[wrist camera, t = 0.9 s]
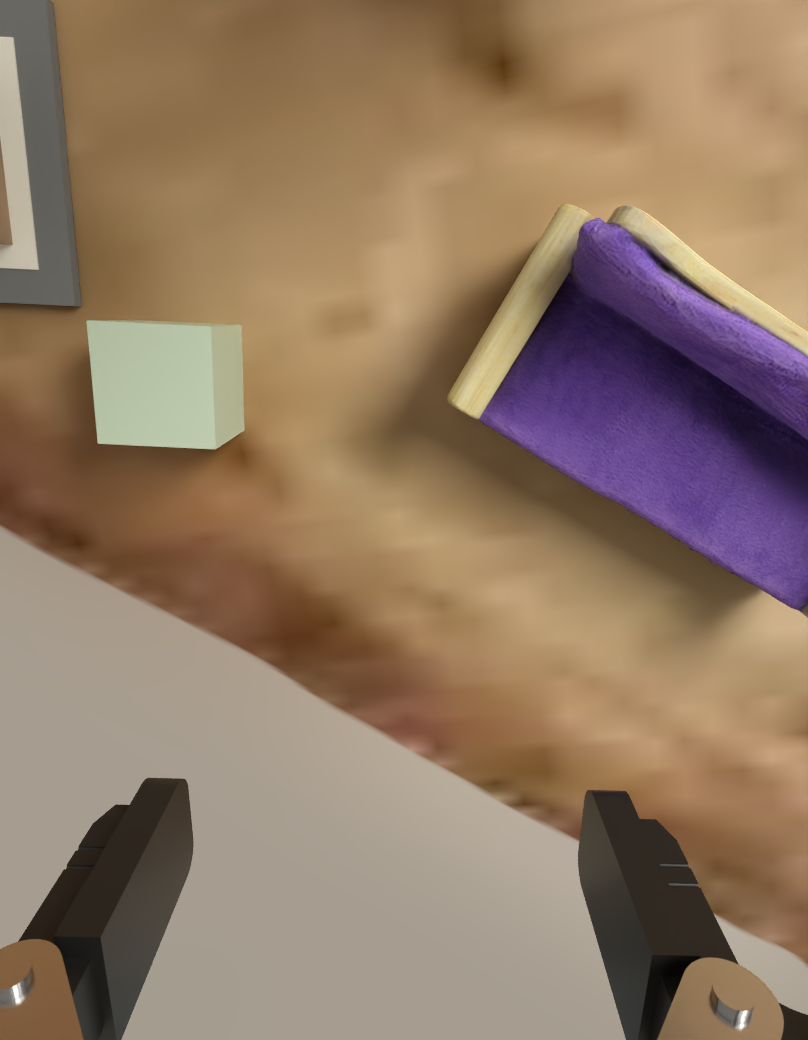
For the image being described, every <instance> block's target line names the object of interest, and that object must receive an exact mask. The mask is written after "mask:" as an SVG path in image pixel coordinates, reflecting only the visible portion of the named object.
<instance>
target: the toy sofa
mask: <svg viewBox="0 0 808 1040" xmlns="http://www.w3.org/2000/svg"><path fill="white" fill-rule="evenodd" d="M447 400H448V402H449V403H450V404H451V405H452V406H454V407H455V408H457V409H458V410H460V411H462V412H463V413H465V414H467V415H468V416H470V417H472V418H475V419H477V420H479V421H480V422H482V423H483V424H485V425H486V426H488V427H491V428H492V429H494V430H495V431H497V432H499V433H500V434H501V435H503V436H505V437H506V438H508V439H510V440H512V441H513V442H515V443H516V444H518V445H519V446H520V447H522V448H524V449H526V450H527V451H528V452H530V453H532V454H533V455H535V456H536V457H538V458H539V459H541V460H543V461H544V462H546V463H547V464H549V465H550V466H552V467H553V468H555V469H556V470H558V471H560V472H562V473H563V474H565V475H566V476H568V477H569V478H571V479H573V480H575V481H576V482H578V483H579V484H581V485H583V486H585V487H587V488H589V489H591V490H592V491H594V492H596V493H598V494H600V495H602V496H604V497H606V498H608V499H610V500H612V501H615V502H617V503H619V504H621V505H622V506H624V507H626V508H627V509H628V510H629V511H630V512H633V513H636V514H637V515H639V516H640V517H642V518H644V519H646V520H647V521H648V522H649V523H650V524H652V525H654V526H657V527H659V528H660V529H662V530H663V531H665V532H667V533H668V534H669V535H671V536H672V537H674V538H676V539H678V540H680V541H681V542H682V543H684V544H686V545H687V546H688V547H690V549H691V550H695V551H697V552H699V553H700V554H702V555H703V556H705V557H707V558H708V559H709V560H710V562H711V563H716V564H718V565H720V566H721V567H723V568H725V569H726V570H728V571H729V572H730V573H732V574H736V575H737V576H739V577H741V578H742V579H744V580H746V581H747V582H749V583H751V584H752V585H755V586H757V587H758V588H760V589H762V590H763V591H765V592H766V593H768V594H770V595H771V596H772V597H774V598H776V599H777V600H779V601H780V602H782V603H784V604H786V605H787V606H789V607H791V608H793V609H796V610H798V611H800V612H801V613H803V614H804V615H805V616H806V617H808V332H807V331H806V330H804V329H803V328H801V327H799V326H798V325H796V324H795V323H793V322H792V321H790V320H789V319H787V318H786V317H785V316H783V315H782V314H780V313H779V312H778V311H776V310H775V309H773V308H772V307H770V306H769V305H767V304H766V303H764V302H762V301H761V300H760V299H758V298H757V297H755V296H754V295H752V294H751V293H749V292H748V291H746V290H745V289H743V288H742V287H740V286H739V285H738V284H736V283H735V282H733V281H732V280H730V279H729V278H728V277H726V276H725V275H724V274H722V273H721V272H719V271H718V270H717V269H715V268H714V267H712V266H711V265H710V264H709V263H707V262H706V261H705V260H703V259H702V258H701V257H700V256H698V255H697V254H696V253H695V252H694V251H693V250H692V249H690V248H689V247H688V246H687V245H686V244H685V243H683V242H682V241H681V240H680V239H679V238H678V237H677V236H675V235H674V234H673V233H672V232H671V231H669V230H668V229H667V228H666V227H664V226H663V225H662V224H661V223H659V222H658V221H657V220H655V219H654V218H653V217H651V216H650V215H648V214H647V213H645V212H644V211H642V210H640V209H638V208H636V207H633V206H628V205H625V206H621V207H618V208H617V209H616V210H615V211H614V212H613V214H612V215H611V217H610V218H609V220H608V222H607V223H605V222H604V221H603V220H602V219H600V218H595V219H594V218H593V217H592V216H591V215H590V214H589V213H588V212H586V211H585V210H583V209H581V208H579V207H577V206H573V205H569V204H563V205H562V206H561V207H559V208H558V210H557V211H556V213H555V215H554V217H553V218H552V220H551V222H550V223H549V225H548V227H547V228H546V230H545V232H544V233H543V235H542V237H541V238H540V240H539V242H538V243H537V245H536V247H535V249H534V250H533V252H532V254H531V255H530V257H529V259H528V260H527V262H526V264H525V265H524V267H523V269H522V270H521V272H520V274H519V276H518V277H517V279H516V281H515V282H514V284H513V286H512V287H511V289H510V291H509V292H508V294H507V296H506V297H505V299H504V301H503V303H502V304H501V306H500V308H499V309H498V311H497V313H496V314H495V316H494V318H493V319H492V321H491V323H490V324H489V326H488V328H487V329H486V331H485V333H484V335H483V336H482V338H481V340H480V341H479V343H478V345H477V346H476V348H475V350H474V351H473V353H472V355H471V356H470V358H469V360H468V361H467V363H466V365H465V366H464V368H463V370H462V372H461V373H460V375H459V377H458V378H457V380H456V382H455V383H454V385H453V387H452V388H451V390H450V392H449V394H448V397H447Z"/></svg>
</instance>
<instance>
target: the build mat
mask: <svg viewBox="0 0 808 1040" xmlns="http://www.w3.org/2000/svg"><path fill="white" fill-rule="evenodd" d="M0 141H1V149H2V157H3V166H4V174H5V183H6V191H7V199H8V208H9V216H10V225H11V233H12V242H13V245H6V244H0V303H21V304H41V305H62V306H81V295H80V284H79V273H78V263H77V252H76V241H75V230H74V220H73V209H72V198H71V187H70V177H69V166H68V155H67V144H66V133H65V123H64V112H63V101H62V90H61V80H60V69H59V58H58V47H57V37H56V26H55V15H54V4H53V3H52V2H51V1H50V0H0Z"/></svg>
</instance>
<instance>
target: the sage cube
mask: <svg viewBox="0 0 808 1040" xmlns="http://www.w3.org/2000/svg"><path fill="white" fill-rule="evenodd" d="M87 331H88V342H89V353H90V364H91V375H92V386H93V397H94V408H95V419H96V430H97V441H98V444H115V445H135V446H156V447H177V448H197V449H217V448H219V447H220V446H222V445H223V444H225V443H226V442H228V441H229V440H231V439H232V438H234V437H235V436H237V435H238V434H240V433H241V432H243V431H244V400H243V361H242V325H228V324H208V323H187V322H166V321H146V320H87Z"/></svg>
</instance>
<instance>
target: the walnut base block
mask: <svg viewBox="0 0 808 1040" xmlns="http://www.w3.org/2000/svg"><path fill="white" fill-rule="evenodd" d="M0 244H6V245H13V242H12V233H11V225H10V216H9V208H8V199H7V191H6V183H5V174H4V166H3V157H2V149H1V141H0Z"/></svg>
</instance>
